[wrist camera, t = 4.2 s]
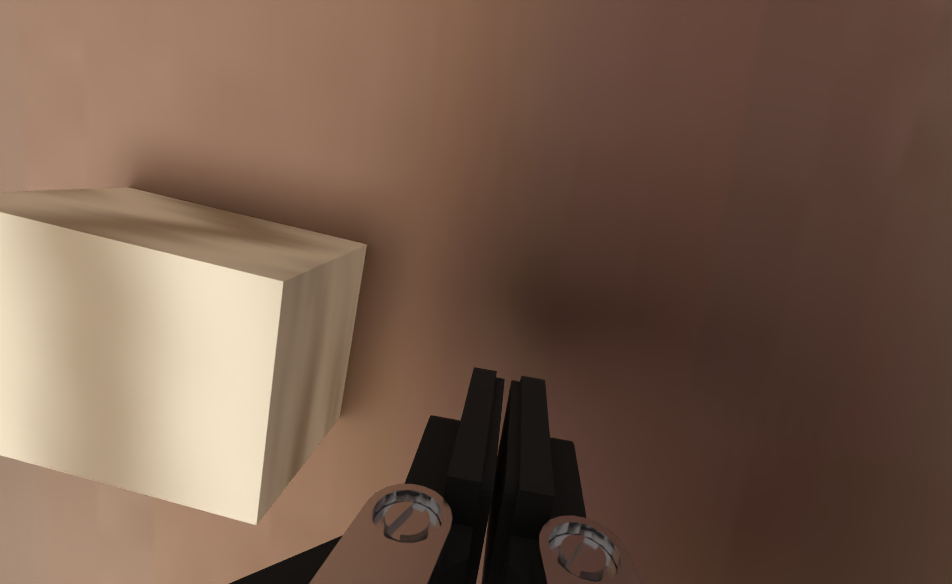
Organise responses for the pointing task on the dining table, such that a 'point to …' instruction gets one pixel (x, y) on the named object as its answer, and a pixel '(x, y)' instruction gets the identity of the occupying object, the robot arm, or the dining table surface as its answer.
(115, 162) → the dining table surface
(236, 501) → the block
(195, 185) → the dining table surface
